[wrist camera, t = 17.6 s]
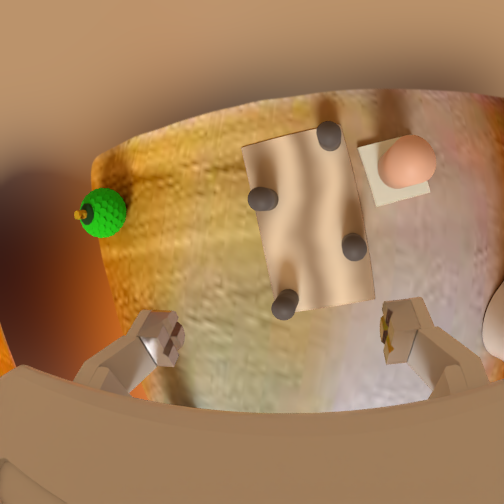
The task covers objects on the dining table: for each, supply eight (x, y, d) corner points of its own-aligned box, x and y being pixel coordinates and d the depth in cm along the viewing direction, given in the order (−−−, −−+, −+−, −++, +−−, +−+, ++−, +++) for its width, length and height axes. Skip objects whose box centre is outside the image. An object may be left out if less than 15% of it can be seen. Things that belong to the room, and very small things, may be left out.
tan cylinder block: (406, 147, 32) (426, 130, 23) (417, 184, 32) (441, 177, 24) (372, 155, 33) (384, 140, 25) (384, 192, 34) (399, 188, 25)
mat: (410, 135, 32) (411, 134, 31) (428, 192, 33) (430, 192, 32) (357, 148, 35) (357, 147, 34) (375, 206, 35) (376, 206, 34)
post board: (340, 124, 35) (340, 114, 31) (374, 297, 37) (379, 309, 33) (242, 148, 39) (230, 141, 35) (278, 312, 42) (270, 325, 37)
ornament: (112, 180, 46) (70, 179, 36) (143, 201, 45) (100, 202, 35) (98, 221, 48) (57, 226, 39) (126, 243, 47) (85, 252, 37)
